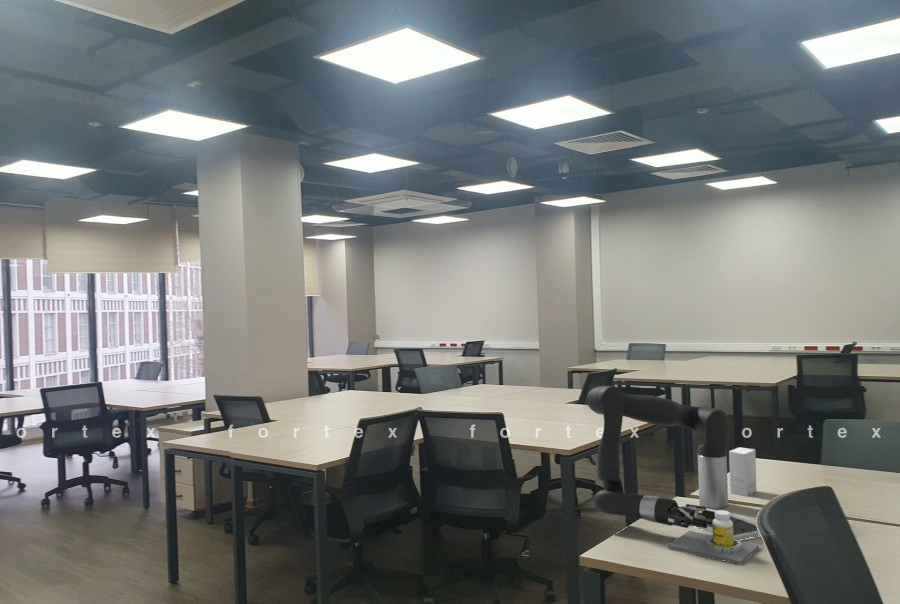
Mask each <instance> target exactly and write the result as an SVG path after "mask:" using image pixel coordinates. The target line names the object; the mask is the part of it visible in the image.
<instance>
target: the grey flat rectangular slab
mask: <svg viewBox="0 0 900 604" xmlns="http://www.w3.org/2000/svg"><path fill="white" fill-rule="evenodd" d="M709 537H713V534H708V533H702V532H697V531H694V530H688V531H686V532H685V533H684V534H682V535H681V536H679V537H678V538H676V539H674V540H673V541H672V542H670V543H668V544H667V548H668V549H669V550H674V551H678V552H682V553H683V552H684V553H686V552H687V553H686V554H691V553H692V554H691V555H695V554H696V555H695V556H699V555H701V556H700V557H704V556H705V557H704V558H708V557H709V558H708V559H712V558H714V559H713V560H717V559H719V560H718V561H721V560H725V561H729V562H728V563H730V562H733V563H732V564H734V563H737V564H736V565H738V564H741V565H743V564H744V563H745V562H746V561H747V560H748V559H749V558H750V557H751V556H752V555H754V554H755V553H756V552H757V551H758V550H759V549H760V544H755V543H751V542H746V541H740V542H741V544H742V550H741V551H740V552H737V553H723V552H722V553H720V552H716V551H713V550H711V549H709V548H707V545H706V539H708V538H709ZM757 549H758V550H757ZM756 550H757V551H756ZM755 551H756V552H755ZM754 552H755V553H754ZM753 553H754V554H753ZM751 554H752V555H751ZM750 555H751V556H750ZM749 556H750V557H749ZM748 557H749V558H748ZM747 558H748V559H747ZM746 559H747V560H746ZM745 560H746V561H745ZM725 561H724V562H725ZM744 561H745V562H744Z"/></svg>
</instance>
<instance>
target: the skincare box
mask: <svg viewBox="0 0 900 604" xmlns="http://www.w3.org/2000/svg"><path fill="white" fill-rule="evenodd" d="M728 455H729V456H728V458H729V491H730V492H731V493H730V494H733V493H734V494H733V495H738V494H740V495H739V496H743V495H746V496H745V497H748V496H750V495H752V494H755V493H757V465H756V464H757V463H756V461H757V460H756V449H755V448H748V447H747V448H746V447H741V446H740V447H736V448H734V449H732V450H729V453H728ZM751 493H752V494H751ZM749 494H750V495H749ZM747 495H748V496H747Z"/></svg>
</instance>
